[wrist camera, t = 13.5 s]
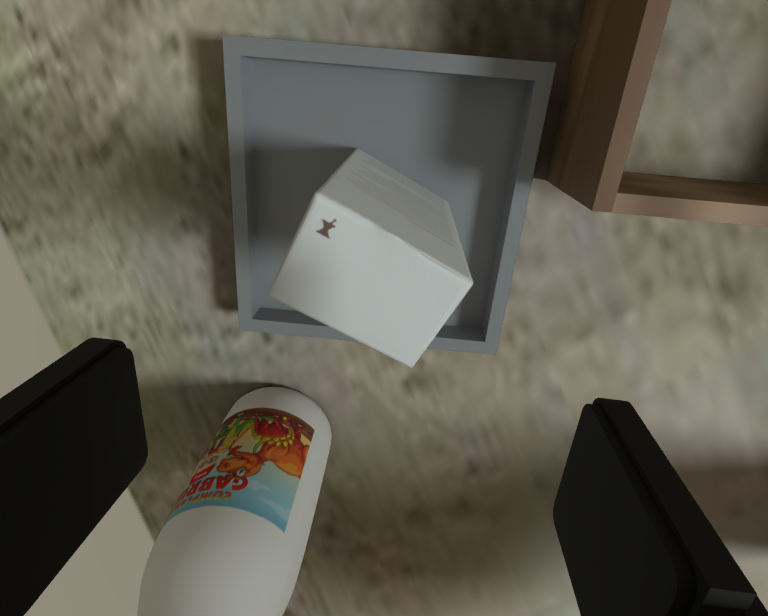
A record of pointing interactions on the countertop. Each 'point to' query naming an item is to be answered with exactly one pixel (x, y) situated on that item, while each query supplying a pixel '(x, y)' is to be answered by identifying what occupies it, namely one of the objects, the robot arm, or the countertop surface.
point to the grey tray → (381, 159)
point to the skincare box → (376, 260)
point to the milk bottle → (242, 513)
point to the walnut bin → (629, 126)
